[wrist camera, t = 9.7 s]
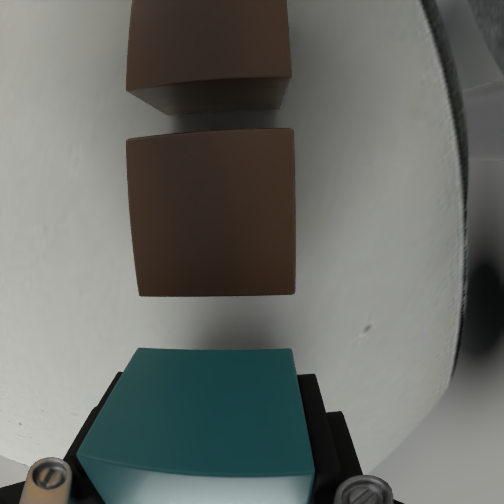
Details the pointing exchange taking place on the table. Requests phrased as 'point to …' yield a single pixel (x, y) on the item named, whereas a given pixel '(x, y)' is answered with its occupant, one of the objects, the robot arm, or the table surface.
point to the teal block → (202, 430)
